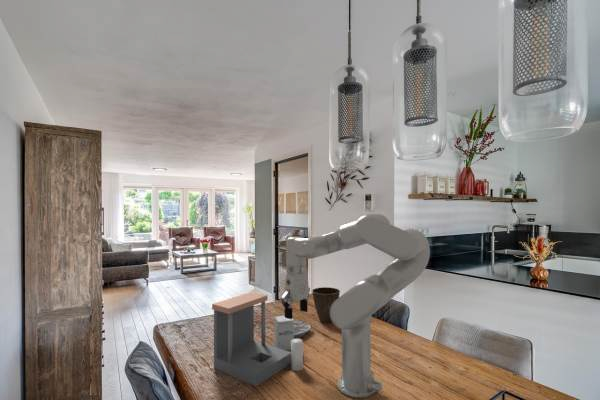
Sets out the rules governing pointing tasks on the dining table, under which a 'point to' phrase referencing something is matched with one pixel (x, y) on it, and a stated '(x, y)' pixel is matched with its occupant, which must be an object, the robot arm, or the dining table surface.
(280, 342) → the supplement box
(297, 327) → the brain slice
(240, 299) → the socket station
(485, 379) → the dining table surface
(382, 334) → the dining table surface
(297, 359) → the peg
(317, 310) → the plant pot
